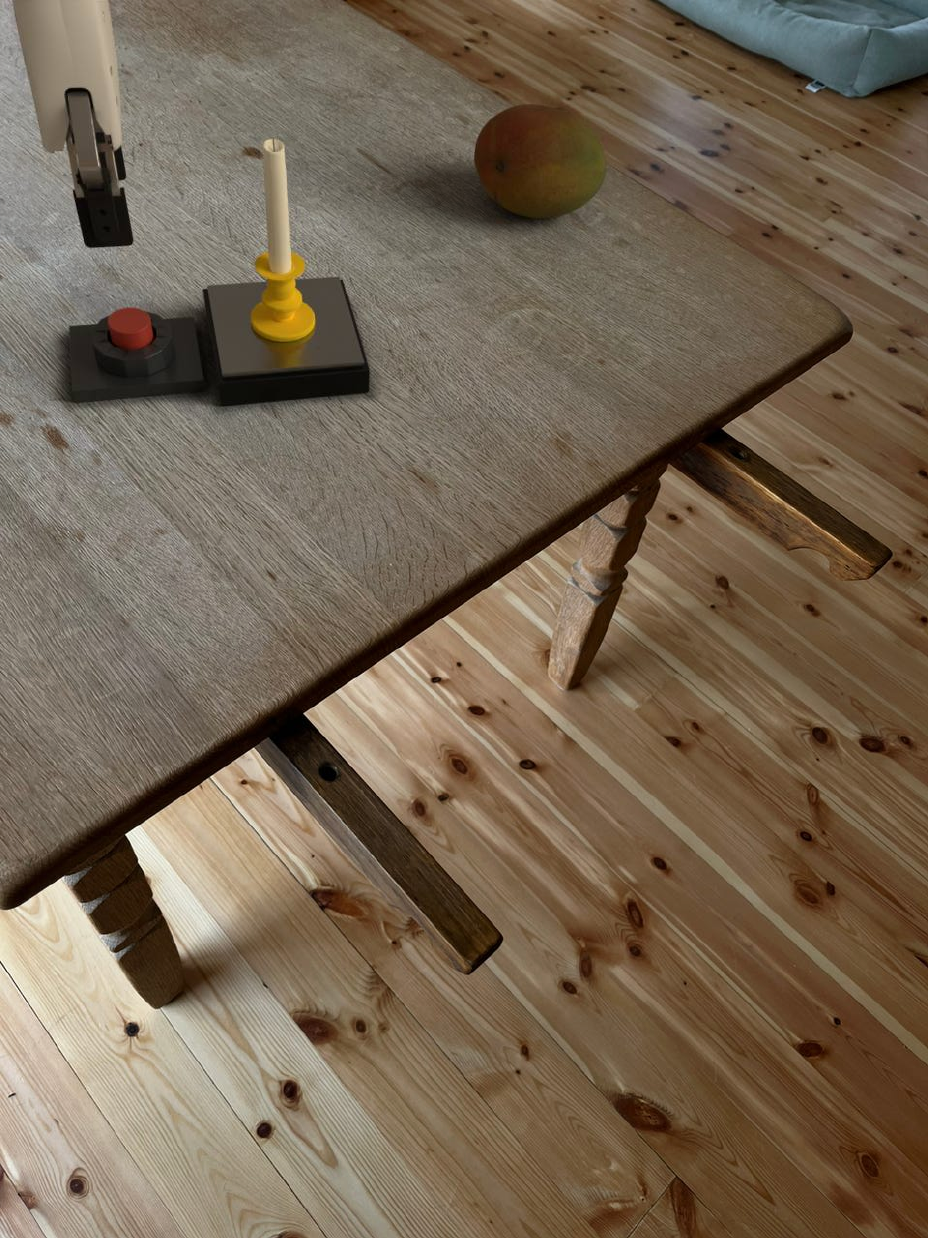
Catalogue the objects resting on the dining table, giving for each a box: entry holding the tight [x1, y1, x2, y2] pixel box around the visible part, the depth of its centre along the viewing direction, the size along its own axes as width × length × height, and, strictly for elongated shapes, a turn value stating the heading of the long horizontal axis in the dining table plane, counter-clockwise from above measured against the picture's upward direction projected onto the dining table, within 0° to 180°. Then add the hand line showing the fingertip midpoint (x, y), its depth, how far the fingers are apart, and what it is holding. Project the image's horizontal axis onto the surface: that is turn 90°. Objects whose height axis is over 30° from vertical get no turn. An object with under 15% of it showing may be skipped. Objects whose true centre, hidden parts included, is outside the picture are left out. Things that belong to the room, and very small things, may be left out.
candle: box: [250, 136, 315, 342], centre depth 76 cm, size 5×5×16 cm
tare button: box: [108, 307, 153, 350], centre depth 79 cm, size 3×3×2 cm
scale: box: [201, 276, 371, 407], centre depth 84 cm, size 12×12×3 cm
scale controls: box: [68, 310, 206, 404], centre depth 81 cm, size 10×8×3 cm
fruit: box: [473, 103, 607, 219], centre depth 98 cm, size 12×13×10 cm
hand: (106, 209), depth 71 cm, fingers open, 7 cm apart
